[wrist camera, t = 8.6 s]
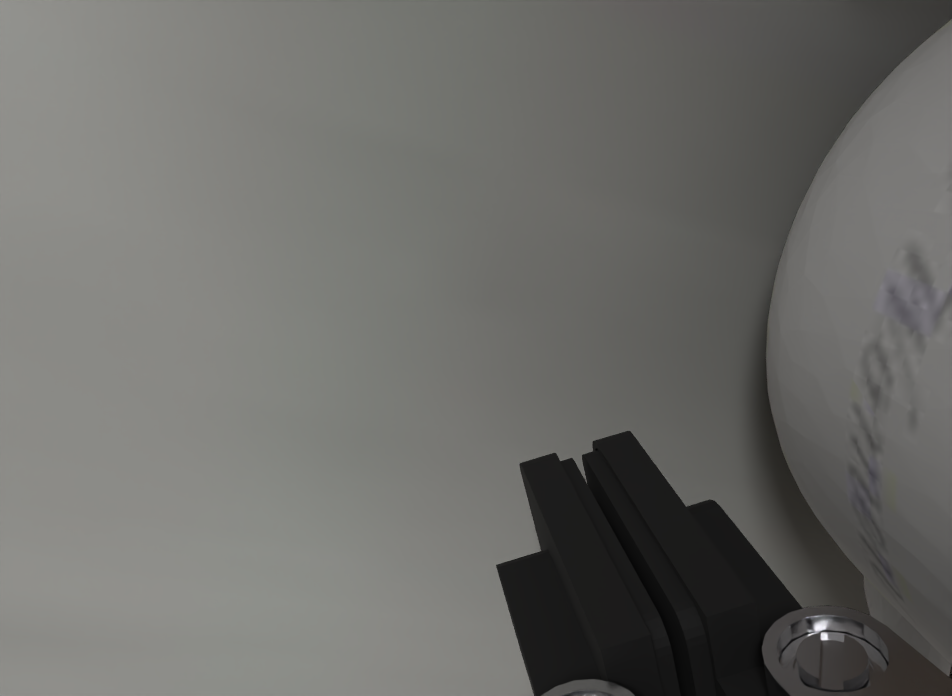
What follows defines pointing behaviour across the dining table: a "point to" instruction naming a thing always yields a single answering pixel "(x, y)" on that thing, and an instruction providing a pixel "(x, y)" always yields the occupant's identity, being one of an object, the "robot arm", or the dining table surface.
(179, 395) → the dining table surface
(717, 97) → the dining table surface
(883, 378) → the teacup
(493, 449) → the dining table surface
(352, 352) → the dining table surface
